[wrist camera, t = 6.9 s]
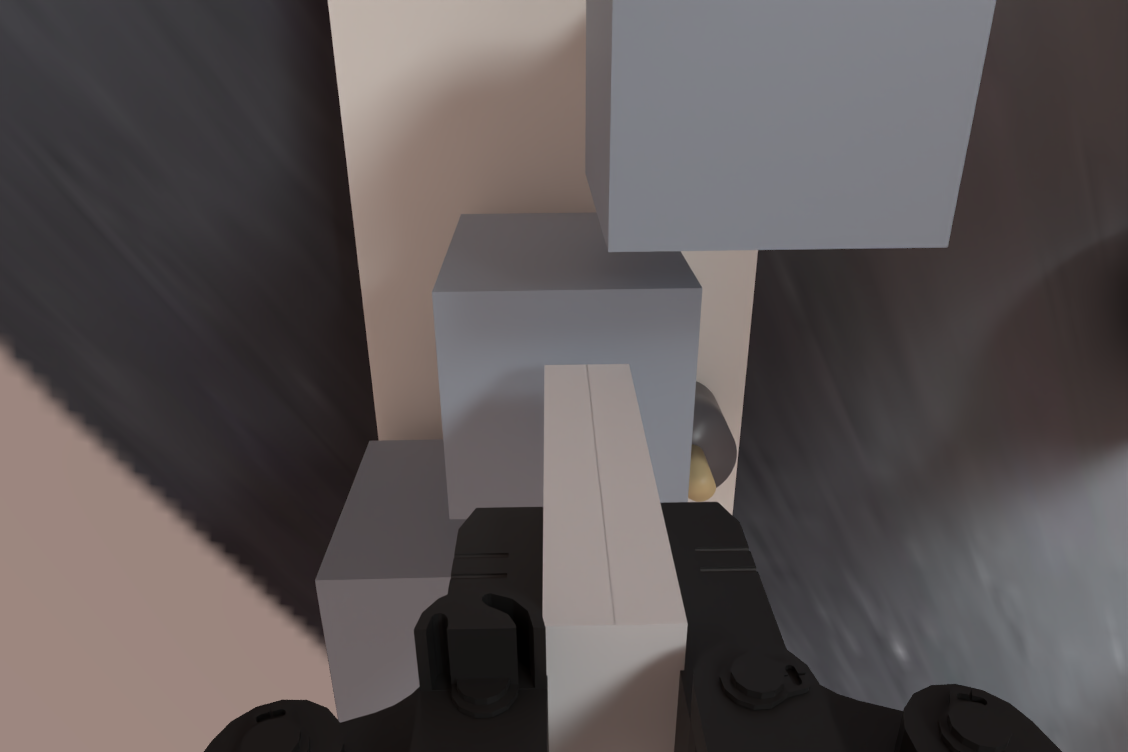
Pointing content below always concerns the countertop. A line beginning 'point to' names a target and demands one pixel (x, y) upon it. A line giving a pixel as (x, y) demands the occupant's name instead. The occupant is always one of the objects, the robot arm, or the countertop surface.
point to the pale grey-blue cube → (780, 121)
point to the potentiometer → (709, 447)
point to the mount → (480, 178)
